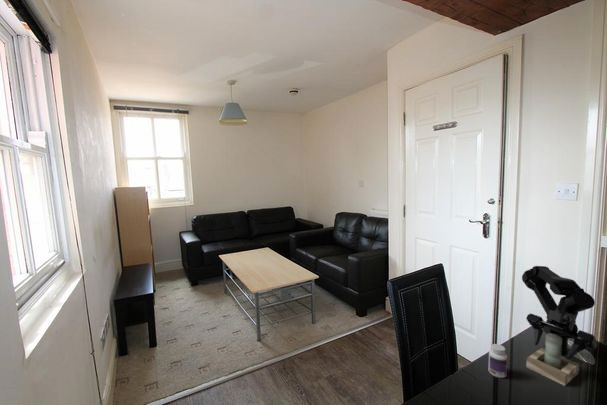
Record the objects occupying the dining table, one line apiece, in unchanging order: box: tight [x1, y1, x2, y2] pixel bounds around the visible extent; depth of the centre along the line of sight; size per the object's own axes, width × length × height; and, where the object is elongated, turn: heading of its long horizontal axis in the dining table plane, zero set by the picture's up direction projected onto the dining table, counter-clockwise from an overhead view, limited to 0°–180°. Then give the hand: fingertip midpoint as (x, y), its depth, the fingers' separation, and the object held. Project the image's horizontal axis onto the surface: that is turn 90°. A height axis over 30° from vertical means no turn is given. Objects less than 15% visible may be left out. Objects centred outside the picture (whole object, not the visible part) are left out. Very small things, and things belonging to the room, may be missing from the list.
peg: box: [543, 333, 562, 370], centre depth 104 cm, size 4×4×12 cm
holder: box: [525, 347, 580, 387], centre depth 104 cm, size 11×11×4 cm
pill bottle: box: [487, 343, 508, 379], centre depth 104 cm, size 5×5×10 cm
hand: (551, 351), depth 103 cm, fingers open, 9 cm apart
